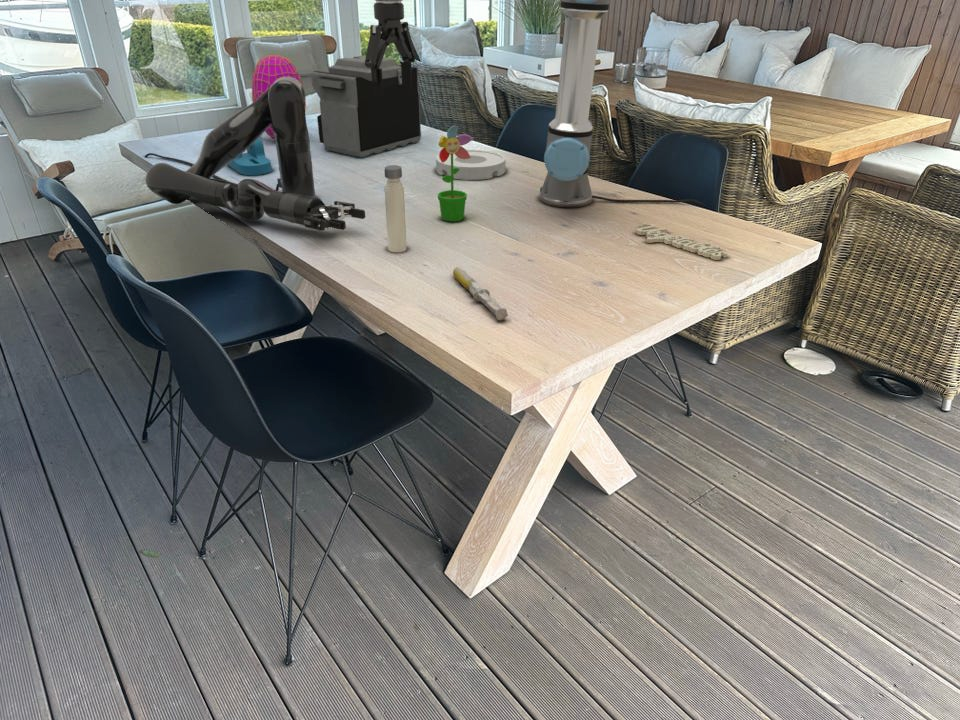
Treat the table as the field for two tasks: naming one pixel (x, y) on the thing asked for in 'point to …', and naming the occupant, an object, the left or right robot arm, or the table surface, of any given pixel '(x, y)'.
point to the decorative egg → (271, 77)
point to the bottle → (395, 215)
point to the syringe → (479, 293)
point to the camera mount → (252, 160)
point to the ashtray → (473, 165)
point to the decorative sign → (680, 242)
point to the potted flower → (452, 199)
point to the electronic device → (366, 108)
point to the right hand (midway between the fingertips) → (393, 91)
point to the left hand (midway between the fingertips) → (354, 220)
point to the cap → (393, 172)
